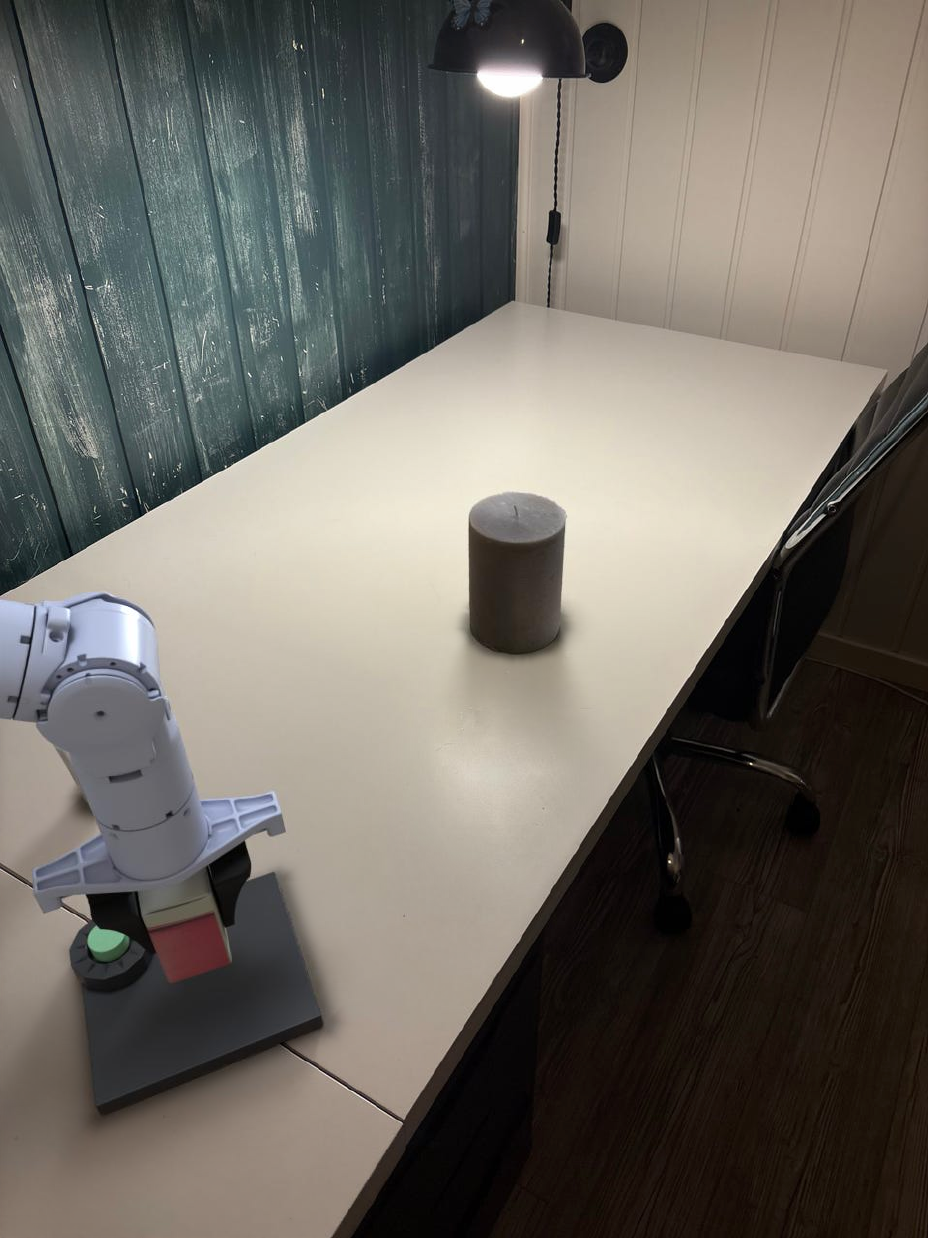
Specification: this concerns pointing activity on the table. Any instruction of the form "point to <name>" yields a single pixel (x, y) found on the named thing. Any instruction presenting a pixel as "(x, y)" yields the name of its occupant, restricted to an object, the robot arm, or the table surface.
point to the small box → (186, 927)
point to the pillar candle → (515, 571)
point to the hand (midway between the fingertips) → (190, 927)
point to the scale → (194, 1004)
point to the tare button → (107, 944)
